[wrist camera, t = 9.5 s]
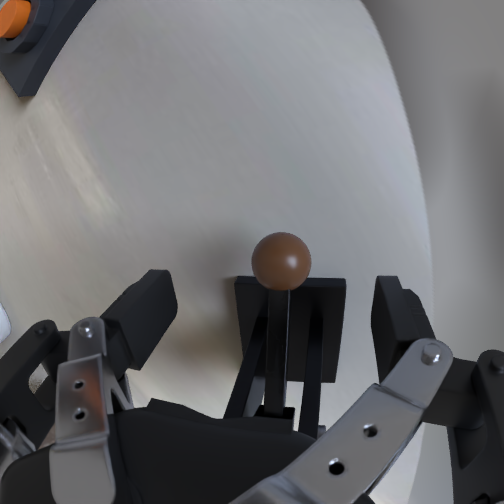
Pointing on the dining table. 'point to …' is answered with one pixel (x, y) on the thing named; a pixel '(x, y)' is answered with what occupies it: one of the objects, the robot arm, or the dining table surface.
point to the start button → (14, 18)
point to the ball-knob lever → (279, 311)
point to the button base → (39, 42)
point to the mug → (4, 324)
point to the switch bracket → (290, 345)
